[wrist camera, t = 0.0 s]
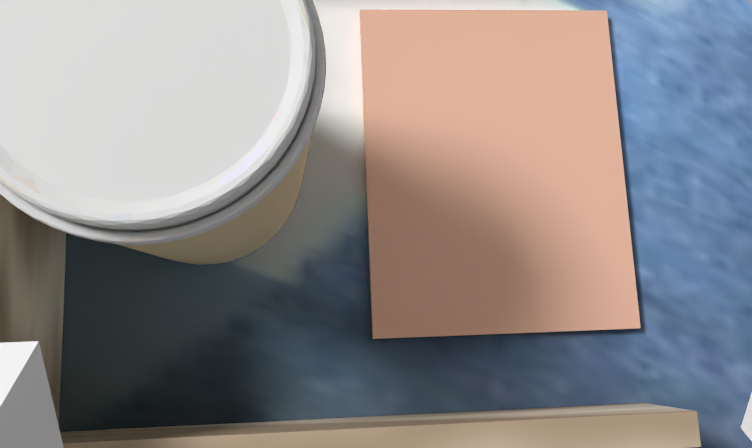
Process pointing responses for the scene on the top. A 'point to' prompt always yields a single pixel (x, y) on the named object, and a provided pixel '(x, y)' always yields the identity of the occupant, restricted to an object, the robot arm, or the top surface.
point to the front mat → (494, 174)
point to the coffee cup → (159, 119)
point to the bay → (316, 436)
